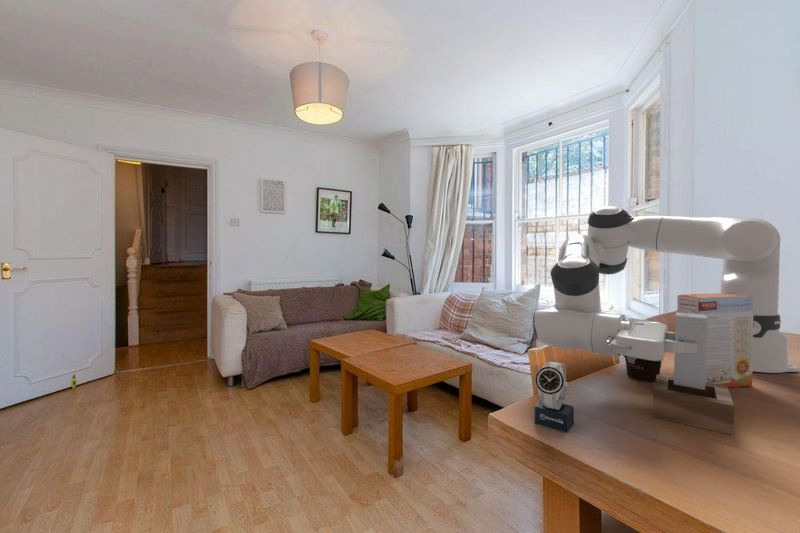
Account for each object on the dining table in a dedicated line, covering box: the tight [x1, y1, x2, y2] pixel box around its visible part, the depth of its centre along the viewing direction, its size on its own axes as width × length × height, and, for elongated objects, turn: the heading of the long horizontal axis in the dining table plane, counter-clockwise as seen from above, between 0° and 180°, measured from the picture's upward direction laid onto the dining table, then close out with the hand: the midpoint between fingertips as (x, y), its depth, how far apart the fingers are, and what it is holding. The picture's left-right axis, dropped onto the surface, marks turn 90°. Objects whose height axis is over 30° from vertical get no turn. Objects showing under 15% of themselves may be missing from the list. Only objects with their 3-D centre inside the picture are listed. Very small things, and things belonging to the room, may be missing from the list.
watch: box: [534, 360, 575, 434], centre depth 65 cm, size 6×8×11 cm
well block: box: [652, 374, 735, 436], centre depth 68 cm, size 11×11×5 cm
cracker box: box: [677, 292, 754, 388], centre depth 83 cm, size 14×6×21 cm, turn 97°
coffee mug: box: [622, 355, 663, 383], centre depth 89 cm, size 12×9×10 cm
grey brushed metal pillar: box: [673, 311, 707, 390], centre depth 67 cm, size 4×4×13 cm
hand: (696, 344), depth 67 cm, fingers closed on grey brushed metal pillar, 4 cm apart
